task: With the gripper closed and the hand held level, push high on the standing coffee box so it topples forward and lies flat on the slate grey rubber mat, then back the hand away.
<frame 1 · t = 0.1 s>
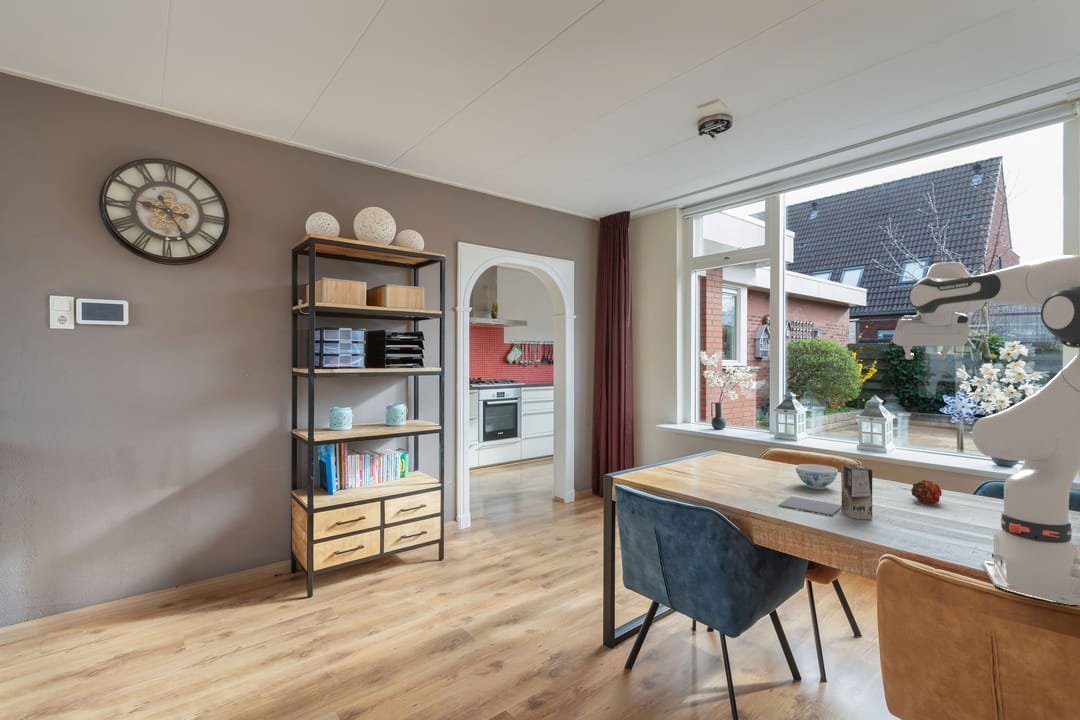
hand: (924, 358, 158), 52 cm above the table, tool tilted 20°, fingers open, 8 cm apart
slate mat: (810, 506, 178), on the table
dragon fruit: (926, 502, 183), on the table
chinaware: (816, 487, 204), on the table
coffee box: (856, 515, 169), on the table
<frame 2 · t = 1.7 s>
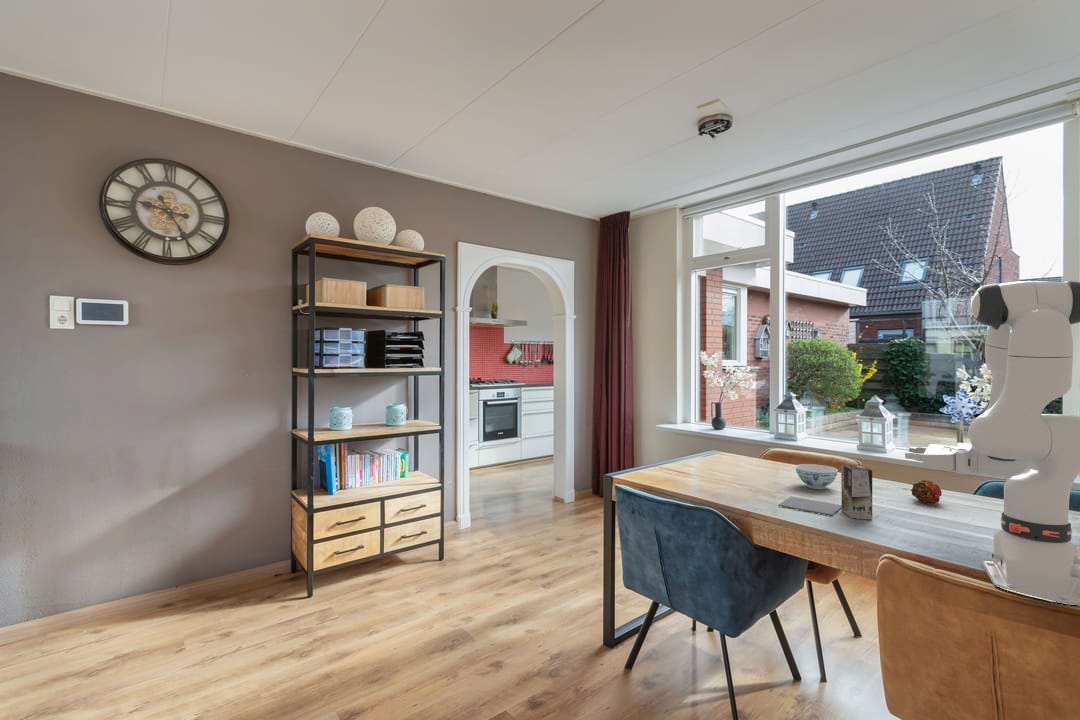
hand: (907, 452, 159), 23 cm above the table, tool horizontal, fingers open, 8 cm apart
nothing on the table moved.
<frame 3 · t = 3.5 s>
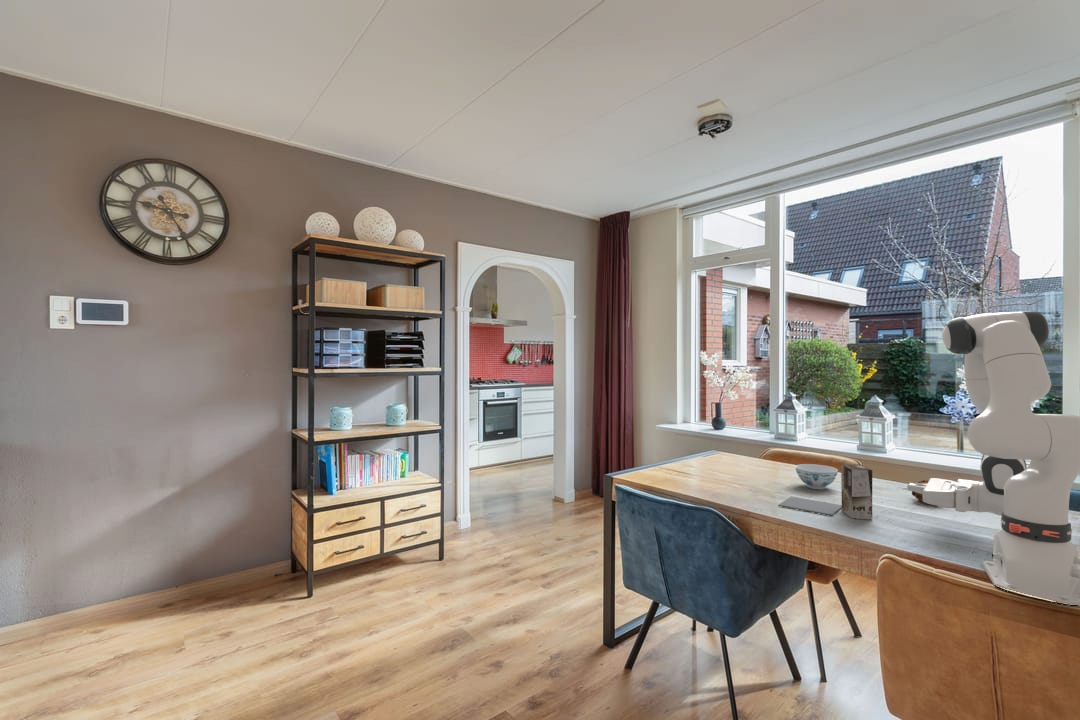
hand: (908, 486, 159), 12 cm above the table, tool horizontal, fingers closed
nothing on the table moved.
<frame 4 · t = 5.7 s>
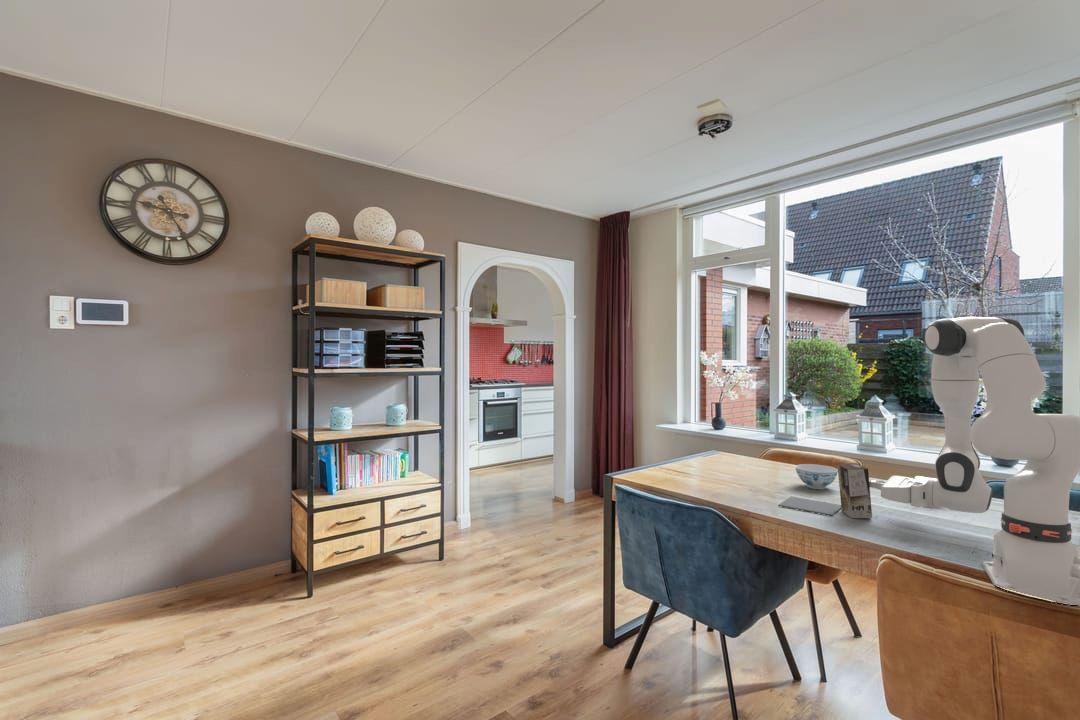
hand: (869, 483, 166), 11 cm above the table, tool horizontal, fingers closed
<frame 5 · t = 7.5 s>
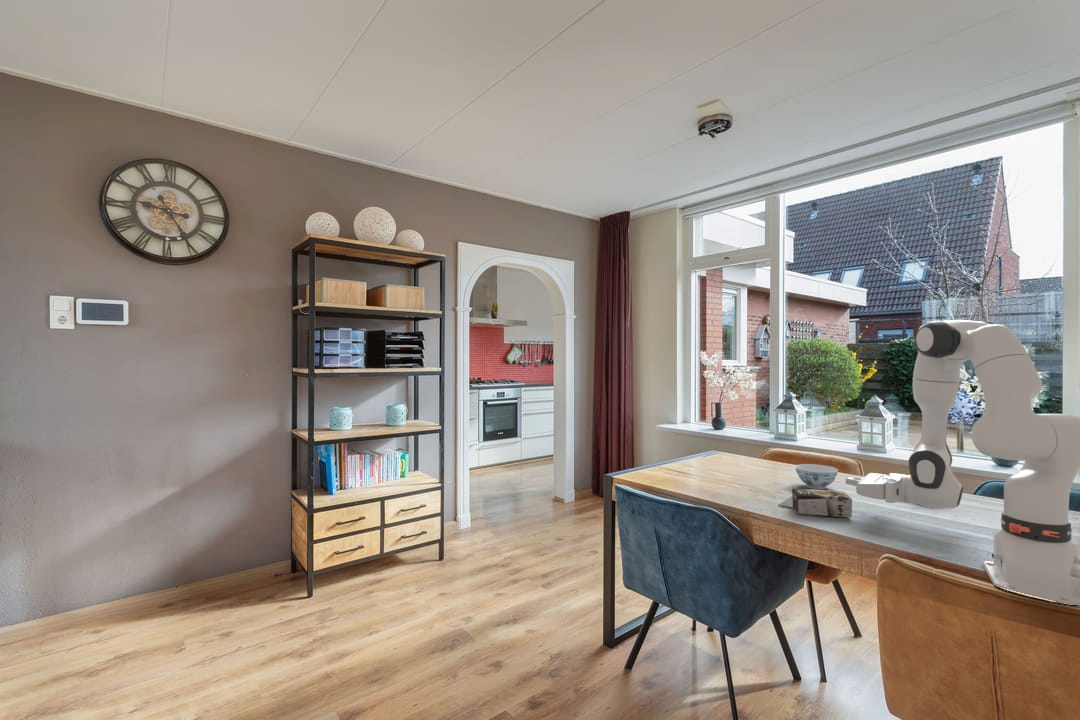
hand: (846, 480, 171), 11 cm above the table, tool horizontal, fingers closed
coffee box: (848, 503, 169), point 4 cm above the table, touching slate mat
everything else where it was.
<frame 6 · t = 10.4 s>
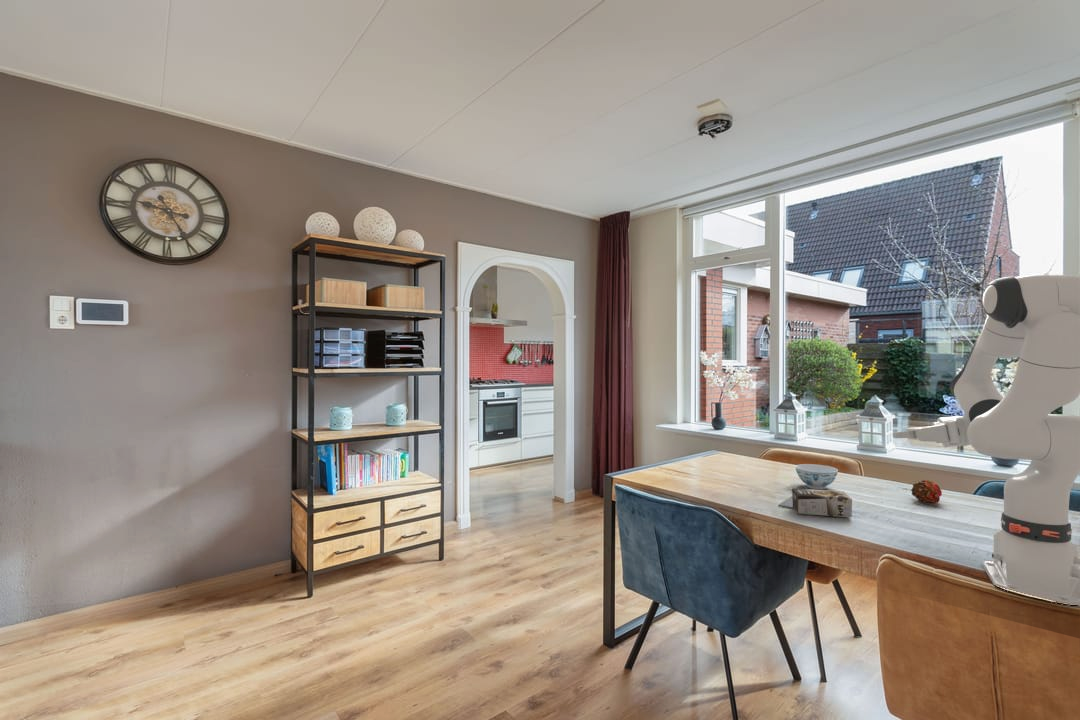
hand: (893, 435, 159), 28 cm above the table, tool horizontal, fingers closed
nothing on the table moved.
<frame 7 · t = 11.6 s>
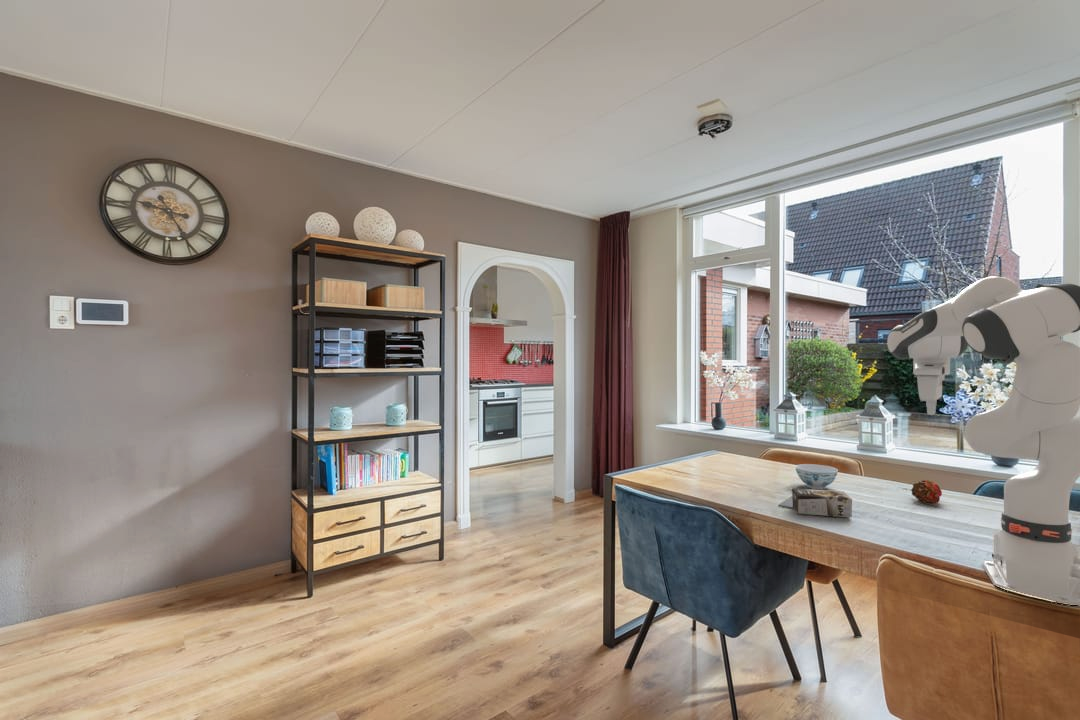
hand: (931, 414, 154), 35 cm above the table, tool pointing down, fingers closed
nothing on the table moved.
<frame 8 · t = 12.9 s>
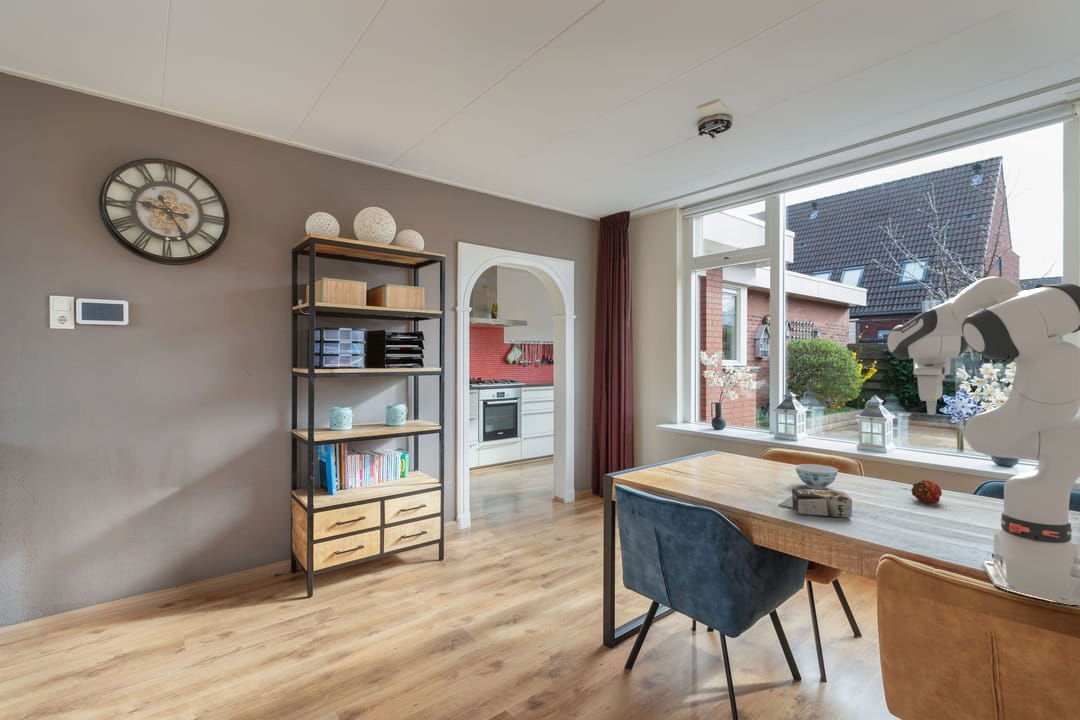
hand: (931, 414, 154), 35 cm above the table, tool pointing down, fingers closed
nothing on the table moved.
at the end: coffee box tilted 90°; coffee box touching slate mat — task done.
